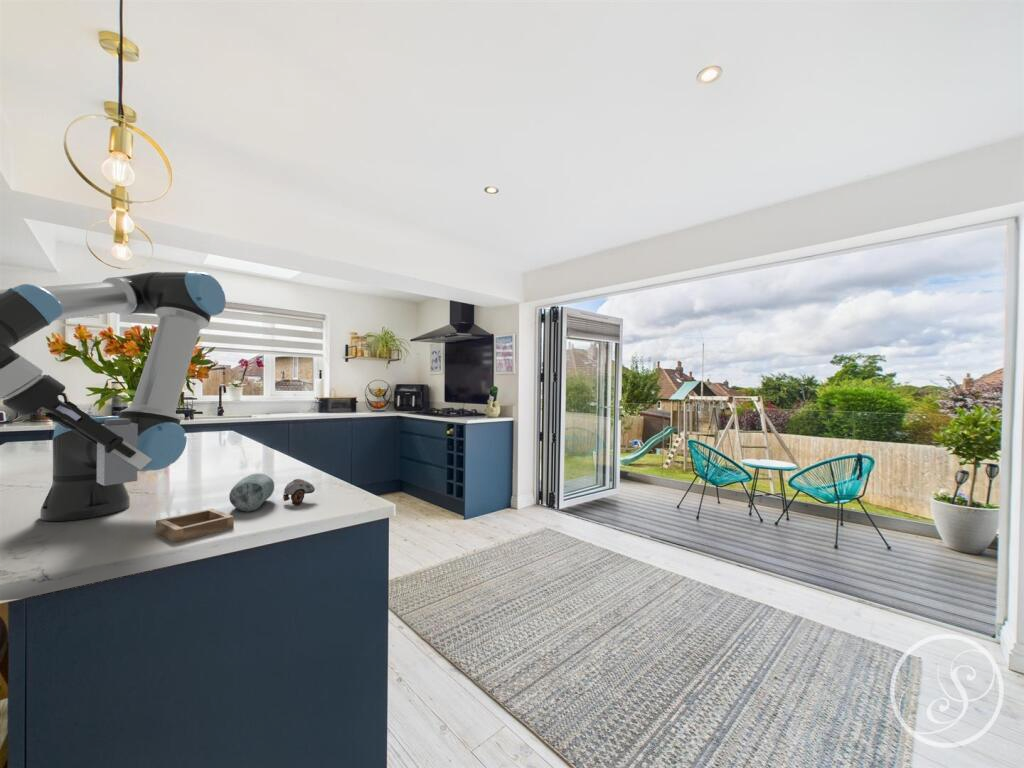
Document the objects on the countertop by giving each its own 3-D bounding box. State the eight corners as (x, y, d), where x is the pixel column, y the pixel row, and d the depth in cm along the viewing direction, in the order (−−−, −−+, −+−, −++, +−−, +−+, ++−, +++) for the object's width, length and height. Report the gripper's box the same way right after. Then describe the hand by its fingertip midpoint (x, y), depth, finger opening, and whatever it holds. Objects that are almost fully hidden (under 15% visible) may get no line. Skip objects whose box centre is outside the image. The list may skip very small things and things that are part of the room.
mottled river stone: (268, 500, 100) (252, 464, 101) (228, 520, 97) (212, 483, 99) (288, 499, 113) (274, 467, 114) (253, 517, 110) (239, 484, 112)
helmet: (282, 502, 109) (283, 478, 110) (313, 498, 114) (314, 475, 114) (284, 507, 105) (284, 482, 105) (316, 503, 109) (316, 479, 109)
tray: (155, 532, 86) (156, 520, 86) (212, 519, 95) (212, 508, 95) (175, 542, 81) (176, 530, 81) (233, 527, 90) (233, 516, 90)
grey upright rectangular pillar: (96, 482, 83) (97, 419, 83) (128, 477, 88) (129, 417, 87) (104, 485, 81) (104, 420, 81) (137, 480, 85) (137, 419, 85)
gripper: (-9, 400, 76) (110, 471, 90) (9, 404, 66) (139, 483, 80) (34, 372, 80) (141, 445, 94) (57, 372, 71) (173, 453, 85)
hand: (140, 462), depth 87 cm, fingers closed on grey upright rectangular pillar, 5 cm apart
